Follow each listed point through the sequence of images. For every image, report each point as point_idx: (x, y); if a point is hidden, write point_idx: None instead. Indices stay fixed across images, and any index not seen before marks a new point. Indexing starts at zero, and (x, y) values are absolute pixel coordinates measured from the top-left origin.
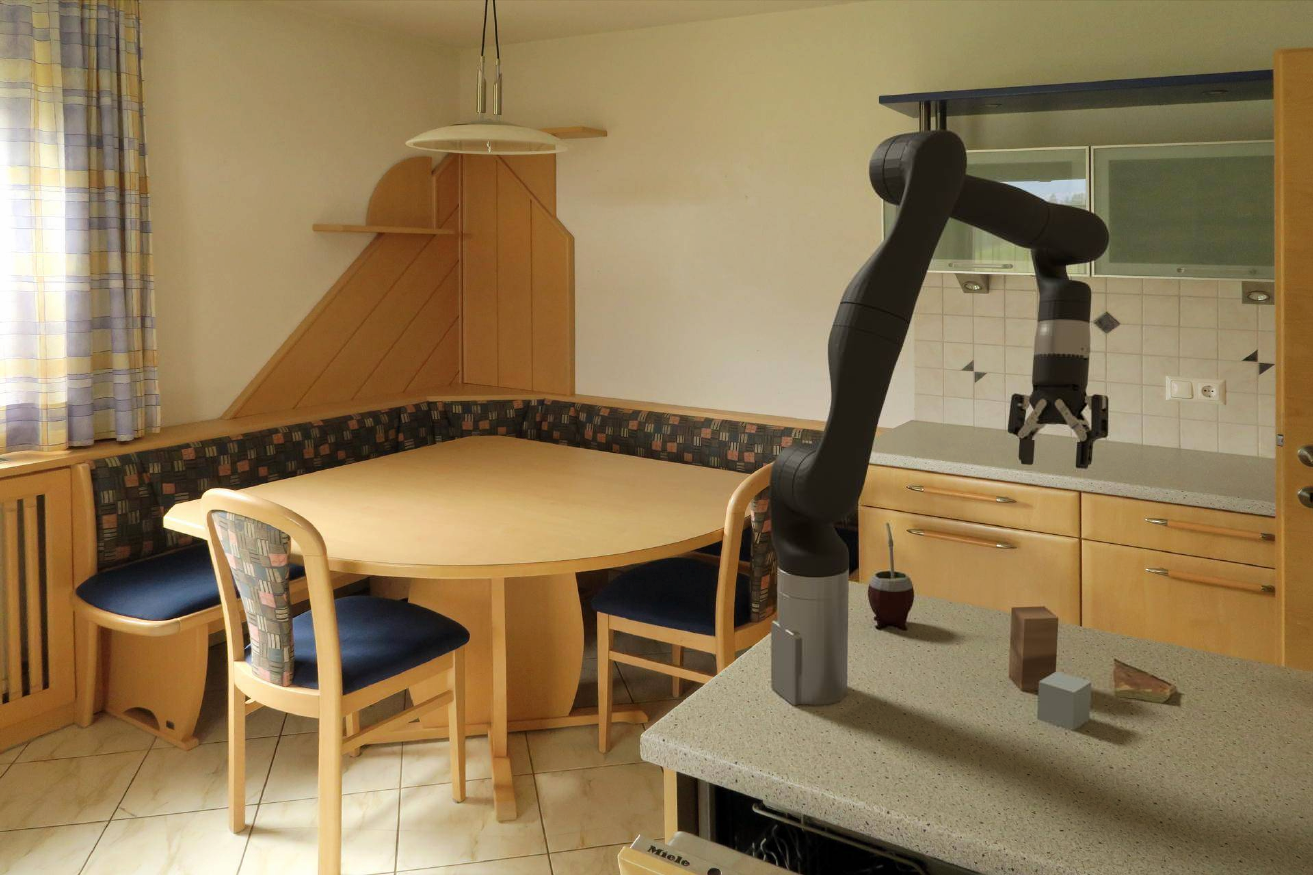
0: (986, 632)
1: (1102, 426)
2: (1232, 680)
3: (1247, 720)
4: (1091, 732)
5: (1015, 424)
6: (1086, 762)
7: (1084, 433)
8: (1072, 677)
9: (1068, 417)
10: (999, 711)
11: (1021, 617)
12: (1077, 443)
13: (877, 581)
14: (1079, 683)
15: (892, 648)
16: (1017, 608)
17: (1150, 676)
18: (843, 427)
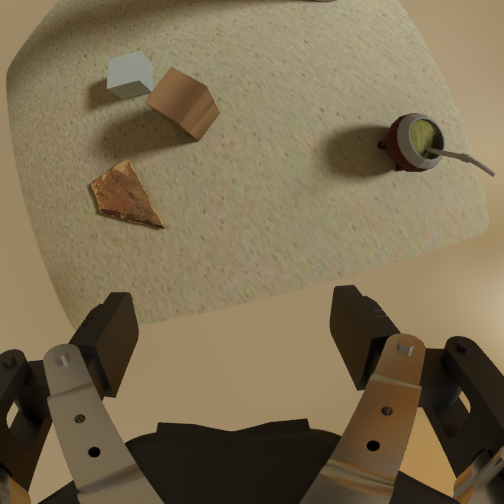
0: (315, 207)
1: (23, 427)
2: (89, 278)
3: (51, 205)
4: None
5: (461, 369)
6: (98, 46)
7: (48, 365)
8: (122, 81)
9: (83, 426)
10: (182, 50)
11: (179, 71)
12: (95, 340)
13: (426, 116)
14: (112, 76)
15: (350, 90)
16: (198, 88)
17: (119, 211)
18: None
